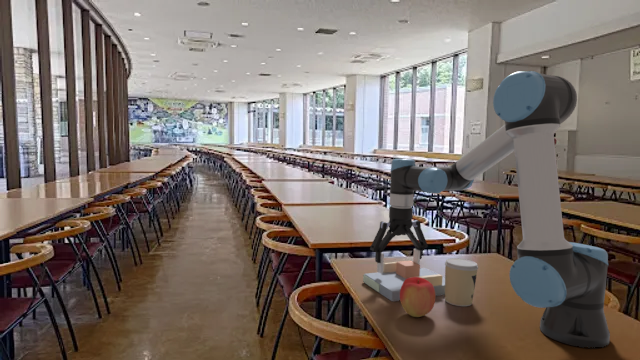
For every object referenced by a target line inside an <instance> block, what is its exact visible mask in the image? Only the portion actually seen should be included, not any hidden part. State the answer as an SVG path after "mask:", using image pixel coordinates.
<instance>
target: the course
mask: <svg viewBox="0 0 640 360" xmlns="http://www.w3.org/2000/svg"><path fill="white" fill-rule="evenodd" d="M397 262H398V261H393V262H392V261H391V262H384V264H383V274H381V273H379V272H377V271H376V272H369V273H363V275H362V276H363V278H362V279H363V281H362V283H364V284H366V285H367V286H368V287H370V288H371V289H373V290H374V291H375V292H376V293H379V294H380V295H382V296H383V297H384V298H387V299H388V300H389V301H391V302H399V300H400V290H401V287H402V284H403V282H404V281H405V280H406V279H407V278H403V277H402V276H400V275H398V274H396V265H397ZM418 277H420V278H424V279H426V280H427V281H429V282H430V283H431V284H432V285H433V287H434V290H435V297H437V296H445V275H444V276H443V274H439V273H437V272H436V271H433V270H431V269H428V268H427V267H420V276H418ZM410 278H411V277H410Z"/></svg>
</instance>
